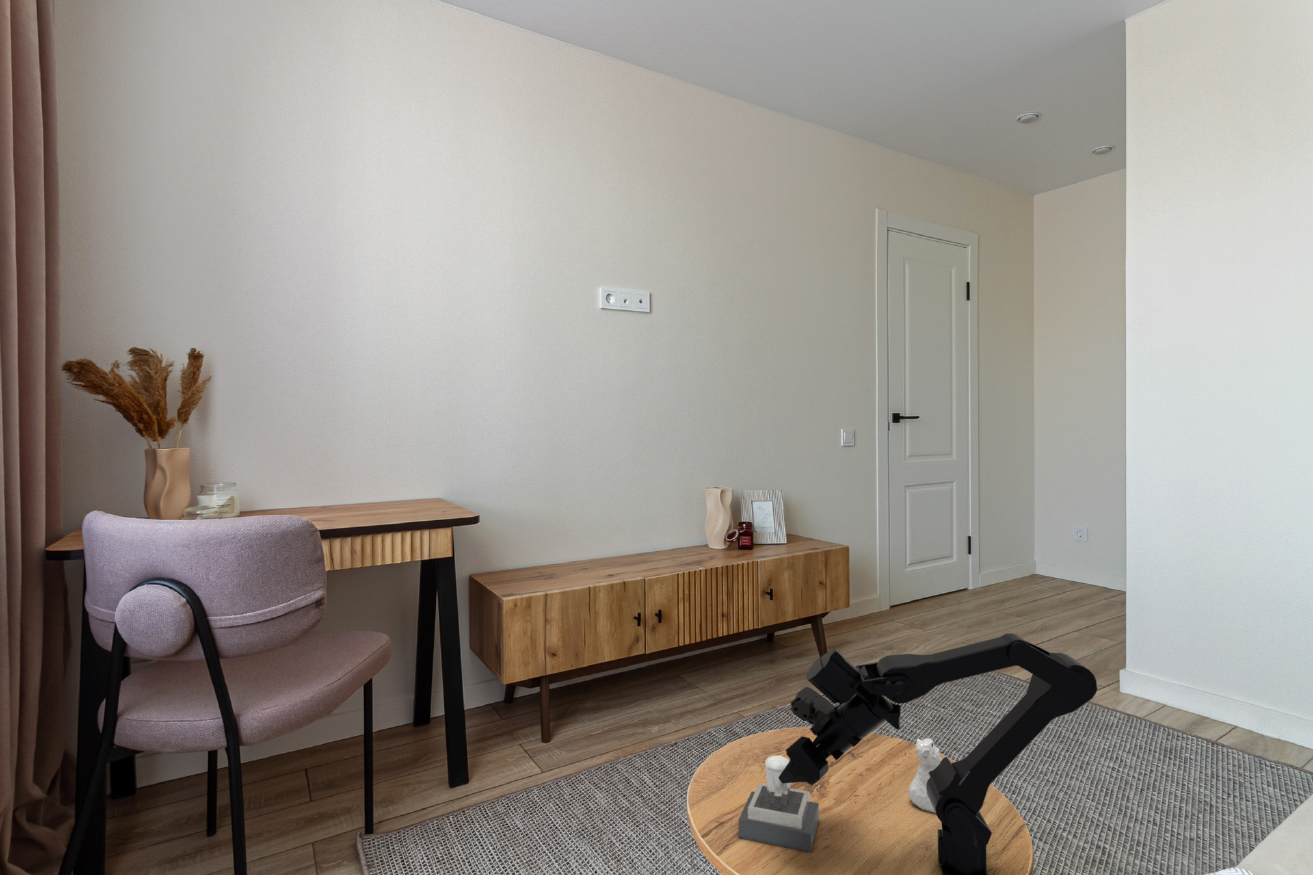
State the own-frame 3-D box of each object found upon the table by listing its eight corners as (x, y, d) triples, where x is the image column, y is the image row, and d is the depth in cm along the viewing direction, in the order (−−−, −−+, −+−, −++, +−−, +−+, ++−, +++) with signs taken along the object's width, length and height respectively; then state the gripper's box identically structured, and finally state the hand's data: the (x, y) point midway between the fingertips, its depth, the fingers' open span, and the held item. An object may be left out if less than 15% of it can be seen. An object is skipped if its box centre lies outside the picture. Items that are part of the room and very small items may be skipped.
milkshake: (796, 820, 116) (796, 760, 116) (764, 816, 117) (764, 757, 117) (796, 805, 120) (796, 748, 120) (766, 802, 121) (765, 746, 121)
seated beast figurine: (966, 821, 121) (966, 753, 121) (916, 819, 121) (915, 751, 121) (949, 793, 130) (948, 730, 130) (902, 791, 131) (901, 728, 131)
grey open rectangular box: (818, 820, 121) (818, 791, 121) (810, 852, 112) (810, 821, 112) (751, 807, 125) (751, 780, 125) (738, 837, 116) (738, 808, 116)
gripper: (841, 662, 122) (785, 710, 128) (797, 694, 107) (735, 747, 113) (886, 716, 117) (826, 764, 124) (847, 758, 102) (780, 810, 108)
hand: (792, 769), depth 117 cm, fingers open, 9 cm apart
